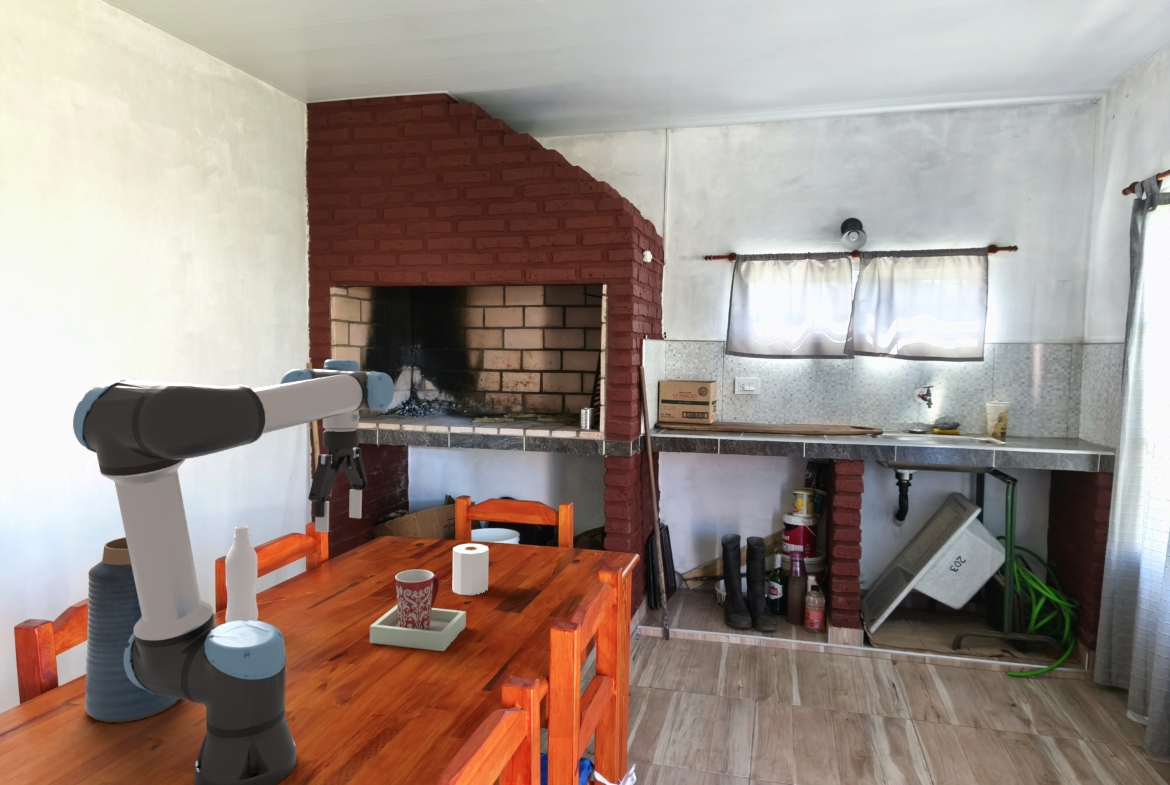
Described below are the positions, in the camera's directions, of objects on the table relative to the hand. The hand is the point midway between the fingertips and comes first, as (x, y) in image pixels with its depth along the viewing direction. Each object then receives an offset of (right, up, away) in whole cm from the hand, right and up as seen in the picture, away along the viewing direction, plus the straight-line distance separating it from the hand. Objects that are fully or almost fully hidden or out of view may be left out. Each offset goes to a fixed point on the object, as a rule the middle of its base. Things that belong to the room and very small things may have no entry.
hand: (339, 524), depth 157 cm
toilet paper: (+22, -28, +47) cm, 58 cm away
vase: (-32, -31, -21) cm, 49 cm away
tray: (+14, -29, +14) cm, 36 cm away
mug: (+15, -28, +14) cm, 35 cm away
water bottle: (-29, -28, +15) cm, 43 cm away
